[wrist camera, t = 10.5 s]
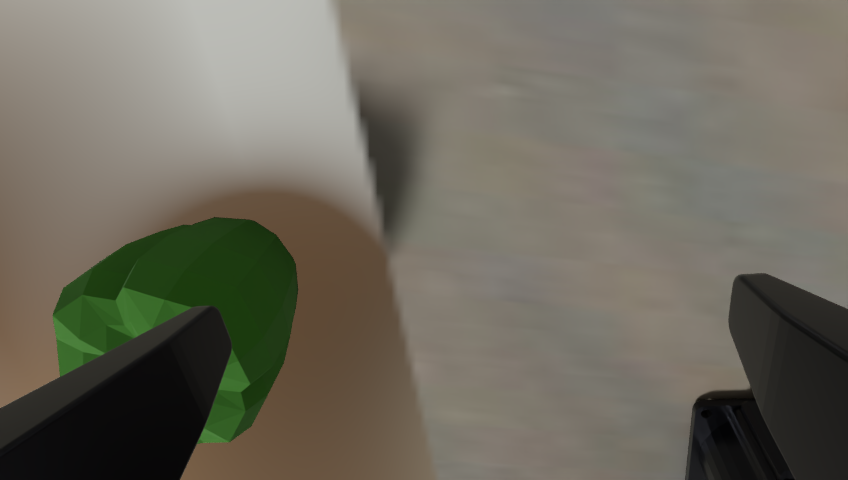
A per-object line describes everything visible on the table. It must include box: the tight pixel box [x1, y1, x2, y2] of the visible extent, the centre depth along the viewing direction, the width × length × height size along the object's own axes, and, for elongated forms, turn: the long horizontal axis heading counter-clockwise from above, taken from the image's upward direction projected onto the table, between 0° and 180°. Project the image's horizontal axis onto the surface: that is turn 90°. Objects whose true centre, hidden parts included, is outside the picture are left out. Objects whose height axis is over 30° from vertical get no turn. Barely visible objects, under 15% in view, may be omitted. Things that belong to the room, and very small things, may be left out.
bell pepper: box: [53, 217, 298, 444], centre depth 21 cm, size 8×8×10 cm
